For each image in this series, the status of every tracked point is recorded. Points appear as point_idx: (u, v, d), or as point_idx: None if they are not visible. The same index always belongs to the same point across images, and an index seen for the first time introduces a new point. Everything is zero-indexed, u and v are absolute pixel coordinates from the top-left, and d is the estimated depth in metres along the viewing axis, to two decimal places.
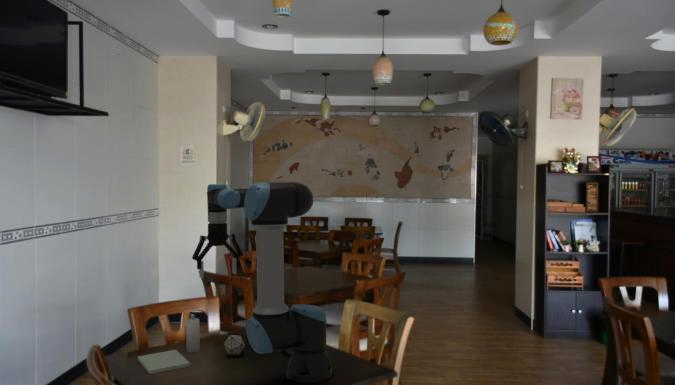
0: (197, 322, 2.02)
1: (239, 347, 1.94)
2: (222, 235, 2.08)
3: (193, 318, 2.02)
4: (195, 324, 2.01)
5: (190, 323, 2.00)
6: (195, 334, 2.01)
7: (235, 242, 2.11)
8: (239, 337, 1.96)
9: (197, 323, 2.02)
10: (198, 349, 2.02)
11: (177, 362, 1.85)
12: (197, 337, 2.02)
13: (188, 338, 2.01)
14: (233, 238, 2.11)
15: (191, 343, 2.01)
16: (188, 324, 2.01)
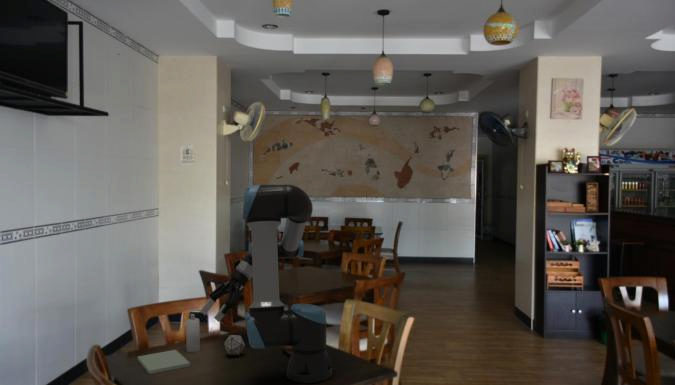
0: (197, 322, 2.02)
1: (239, 347, 1.94)
2: (234, 283, 2.13)
3: (193, 318, 2.02)
4: (195, 324, 2.01)
5: (190, 323, 2.00)
6: (195, 334, 2.01)
7: (235, 291, 2.07)
8: (239, 337, 1.96)
9: (197, 323, 2.02)
10: (198, 349, 2.02)
11: (177, 362, 1.85)
12: (197, 337, 2.02)
13: (188, 338, 2.01)
14: (237, 287, 2.09)
15: (191, 343, 2.01)
16: (188, 324, 2.01)
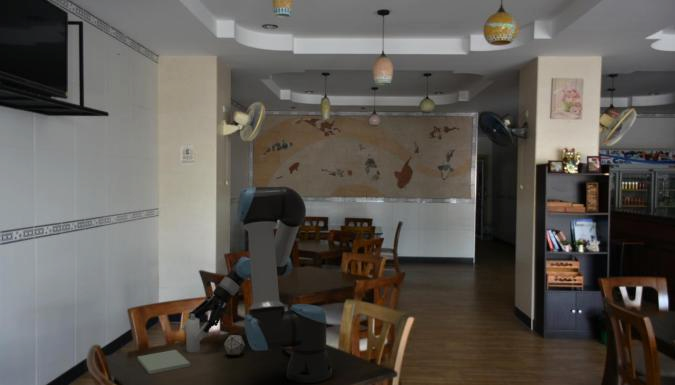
0: (197, 322, 2.02)
1: (239, 347, 1.94)
2: (217, 300, 2.08)
3: (193, 318, 2.02)
4: (195, 323, 2.01)
5: (190, 323, 2.00)
6: (195, 334, 2.01)
7: (217, 308, 2.02)
8: (239, 337, 1.96)
9: (197, 323, 2.02)
10: (198, 349, 2.02)
11: (177, 362, 1.85)
12: None
13: (188, 338, 2.01)
14: (219, 305, 2.04)
15: (191, 343, 2.01)
16: (188, 324, 2.01)
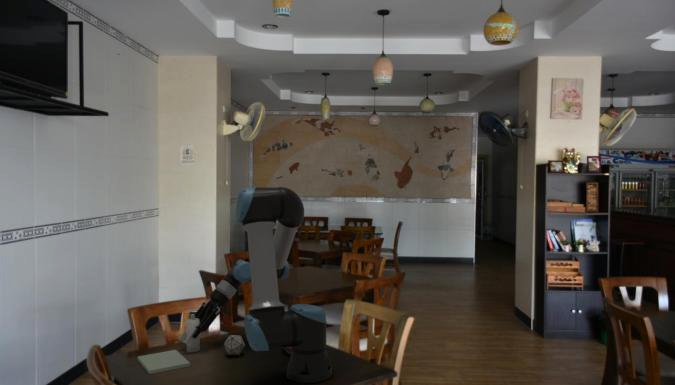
0: (197, 322, 2.02)
1: (239, 347, 1.94)
2: (215, 302, 2.07)
3: (193, 318, 2.02)
4: (195, 324, 2.01)
5: (190, 323, 2.00)
6: None
7: (210, 314, 2.02)
8: (239, 337, 1.96)
9: (197, 323, 2.02)
10: (198, 349, 2.02)
11: (177, 362, 1.85)
12: (197, 337, 2.02)
13: None
14: (213, 310, 2.02)
15: None
16: (188, 324, 2.01)
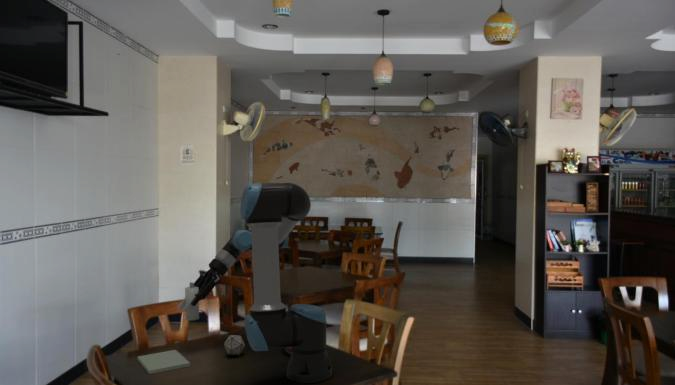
0: (196, 290, 2.01)
1: (239, 347, 1.94)
2: (214, 271, 2.06)
3: (192, 286, 2.02)
4: (194, 291, 2.01)
5: (189, 291, 2.00)
6: None
7: (209, 282, 2.01)
8: (239, 337, 1.96)
9: (196, 291, 2.01)
10: (197, 317, 2.02)
11: (177, 362, 1.85)
12: (196, 305, 2.01)
13: None
14: (212, 279, 2.02)
15: None
16: (187, 292, 2.00)
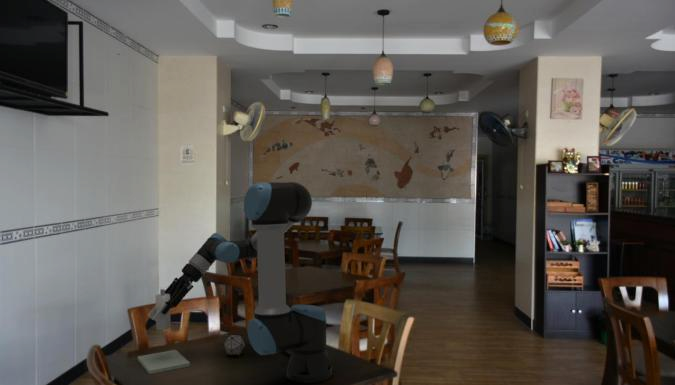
0: (167, 297, 1.89)
1: (239, 347, 1.94)
2: (187, 277, 1.93)
3: (163, 293, 1.89)
4: (165, 299, 1.88)
5: (159, 298, 1.87)
6: None
7: (181, 289, 1.88)
8: (239, 337, 1.96)
9: (167, 298, 1.89)
10: (168, 326, 1.89)
11: (177, 362, 1.85)
12: (167, 313, 1.89)
13: None
14: (185, 285, 1.89)
15: None
16: (157, 299, 1.88)
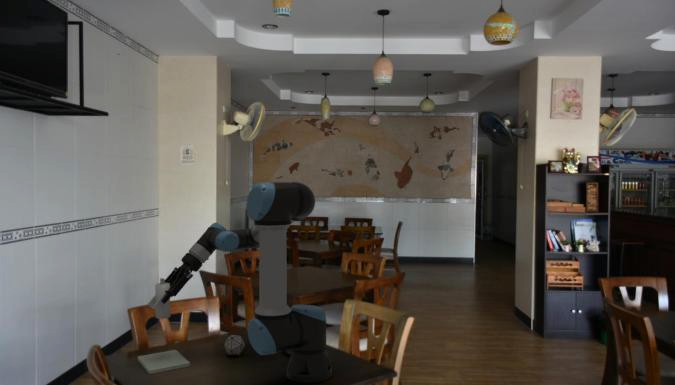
0: (167, 286, 1.89)
1: (239, 347, 1.94)
2: (187, 266, 1.93)
3: (163, 282, 1.89)
4: (165, 288, 1.88)
5: (159, 287, 1.87)
6: None
7: (181, 278, 1.88)
8: (239, 337, 1.96)
9: (167, 287, 1.89)
10: (168, 315, 1.89)
11: (177, 362, 1.85)
12: (167, 302, 1.89)
13: None
14: (184, 274, 1.89)
15: None
16: (157, 288, 1.87)
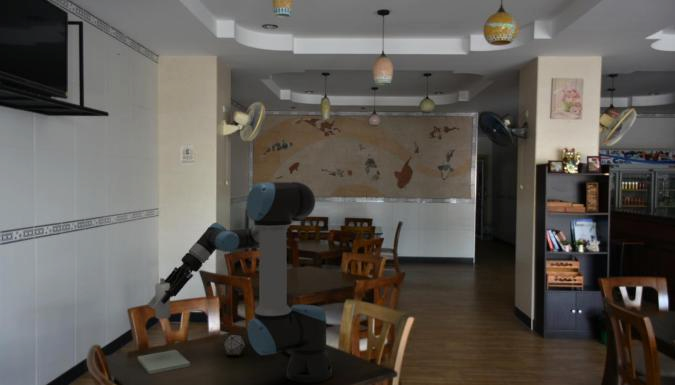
0: (167, 286, 1.89)
1: (239, 347, 1.94)
2: (187, 266, 1.93)
3: (163, 282, 1.89)
4: (165, 288, 1.88)
5: (159, 287, 1.87)
6: None
7: (181, 278, 1.88)
8: (239, 337, 1.96)
9: (167, 287, 1.89)
10: (168, 315, 1.89)
11: (177, 362, 1.85)
12: (167, 302, 1.89)
13: None
14: (184, 274, 1.89)
15: None
16: (157, 288, 1.87)
